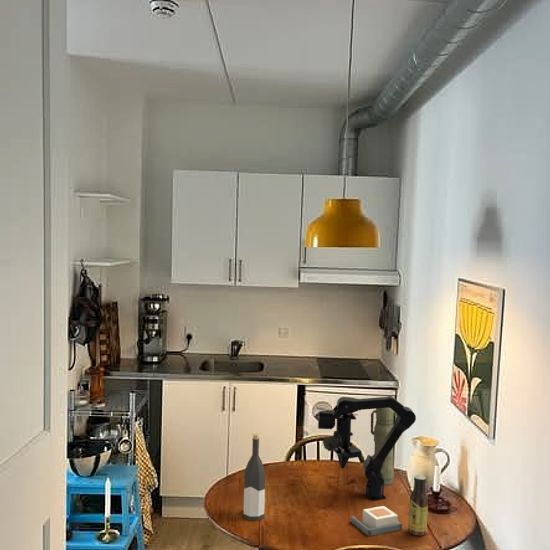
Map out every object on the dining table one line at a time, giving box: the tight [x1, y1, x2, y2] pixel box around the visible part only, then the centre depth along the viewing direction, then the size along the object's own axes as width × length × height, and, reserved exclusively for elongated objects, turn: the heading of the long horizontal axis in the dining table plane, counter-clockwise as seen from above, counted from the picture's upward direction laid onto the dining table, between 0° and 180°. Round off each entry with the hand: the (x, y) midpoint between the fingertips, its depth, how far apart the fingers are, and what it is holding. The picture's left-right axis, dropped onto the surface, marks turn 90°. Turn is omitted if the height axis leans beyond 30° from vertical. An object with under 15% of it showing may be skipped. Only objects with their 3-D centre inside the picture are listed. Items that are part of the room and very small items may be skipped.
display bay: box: [350, 515, 403, 537], centre depth 206 cm, size 14×12×2 cm
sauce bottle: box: [408, 474, 429, 536], centre depth 202 cm, size 6×6×20 cm
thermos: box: [370, 408, 397, 487], centre depth 247 cm, size 9×12×35 cm
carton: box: [362, 505, 399, 529], centre depth 206 cm, size 9×8×5 cm
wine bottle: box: [243, 433, 266, 522], centre depth 211 cm, size 8×8×30 cm
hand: (342, 468), depth 232 cm, fingers closed
